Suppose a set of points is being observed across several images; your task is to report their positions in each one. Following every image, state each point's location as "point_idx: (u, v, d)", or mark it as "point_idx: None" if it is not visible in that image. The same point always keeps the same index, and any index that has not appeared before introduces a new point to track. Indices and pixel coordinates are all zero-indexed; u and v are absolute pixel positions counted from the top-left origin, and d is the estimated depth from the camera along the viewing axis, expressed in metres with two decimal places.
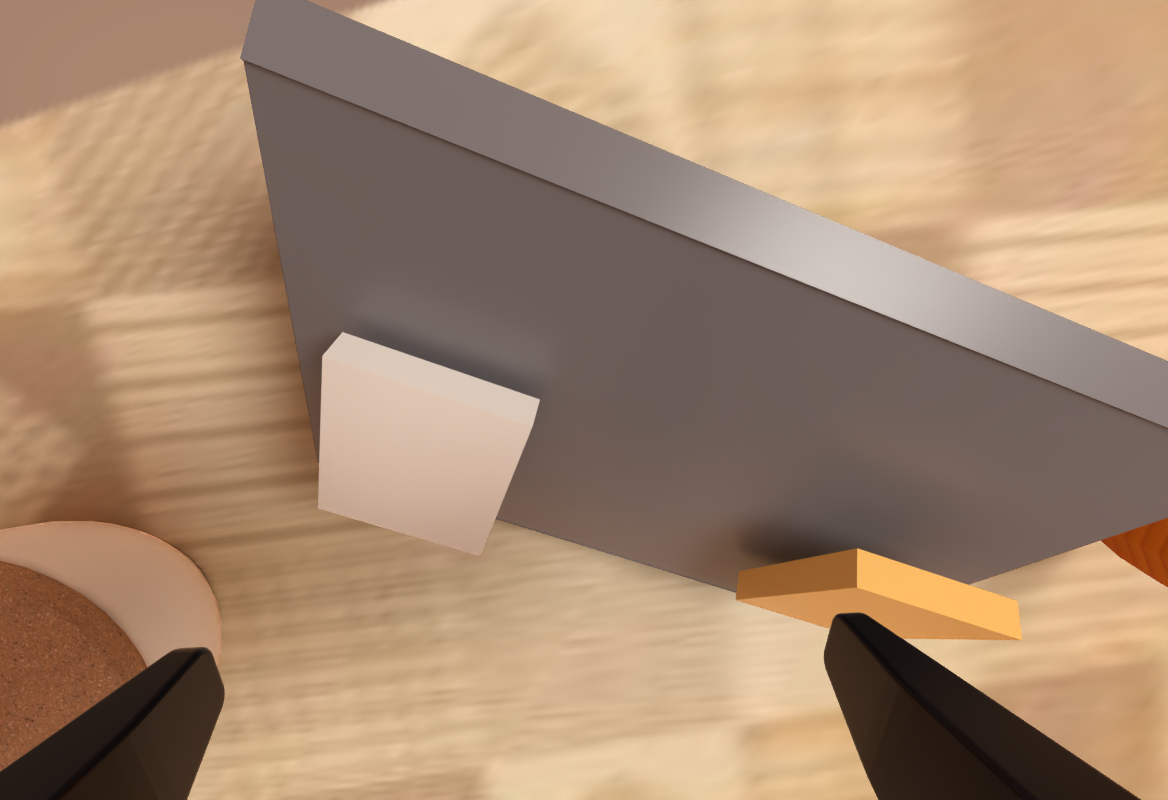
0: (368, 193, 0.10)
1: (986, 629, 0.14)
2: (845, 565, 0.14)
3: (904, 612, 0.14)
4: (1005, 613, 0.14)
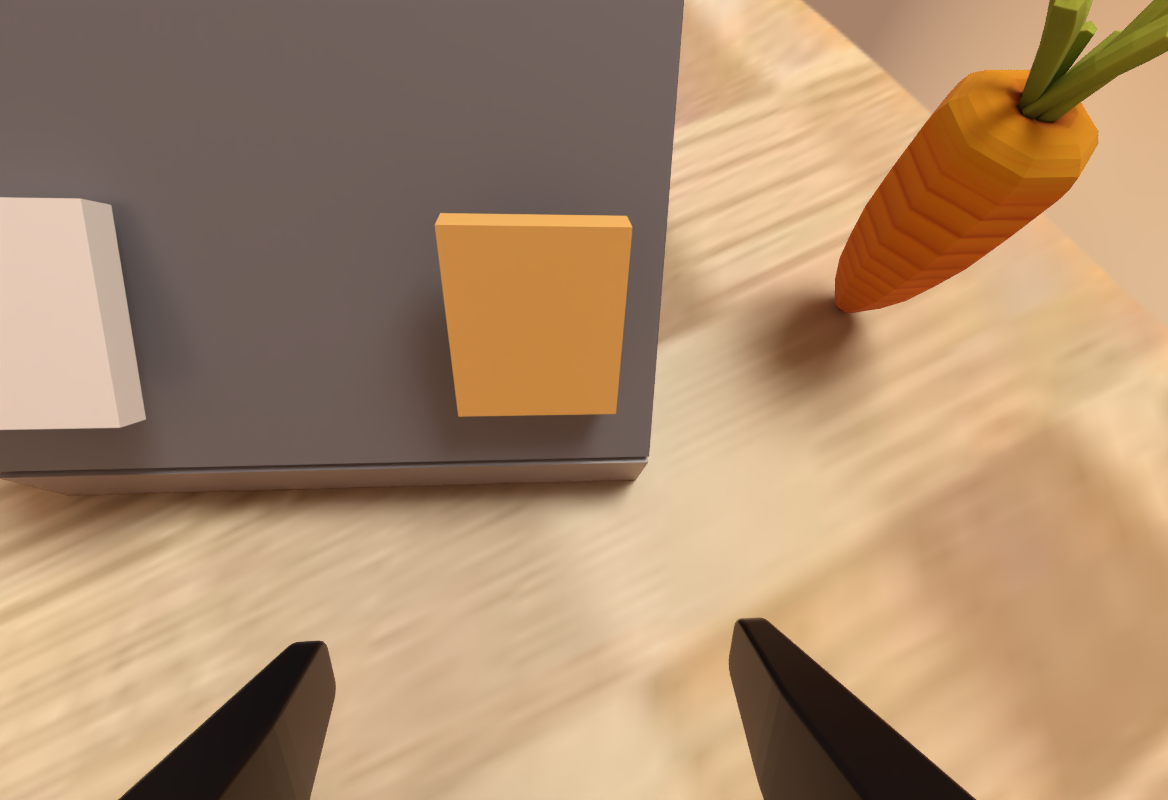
0: None
1: (592, 229, 0.14)
2: None
3: (522, 258, 0.14)
4: (612, 220, 0.14)
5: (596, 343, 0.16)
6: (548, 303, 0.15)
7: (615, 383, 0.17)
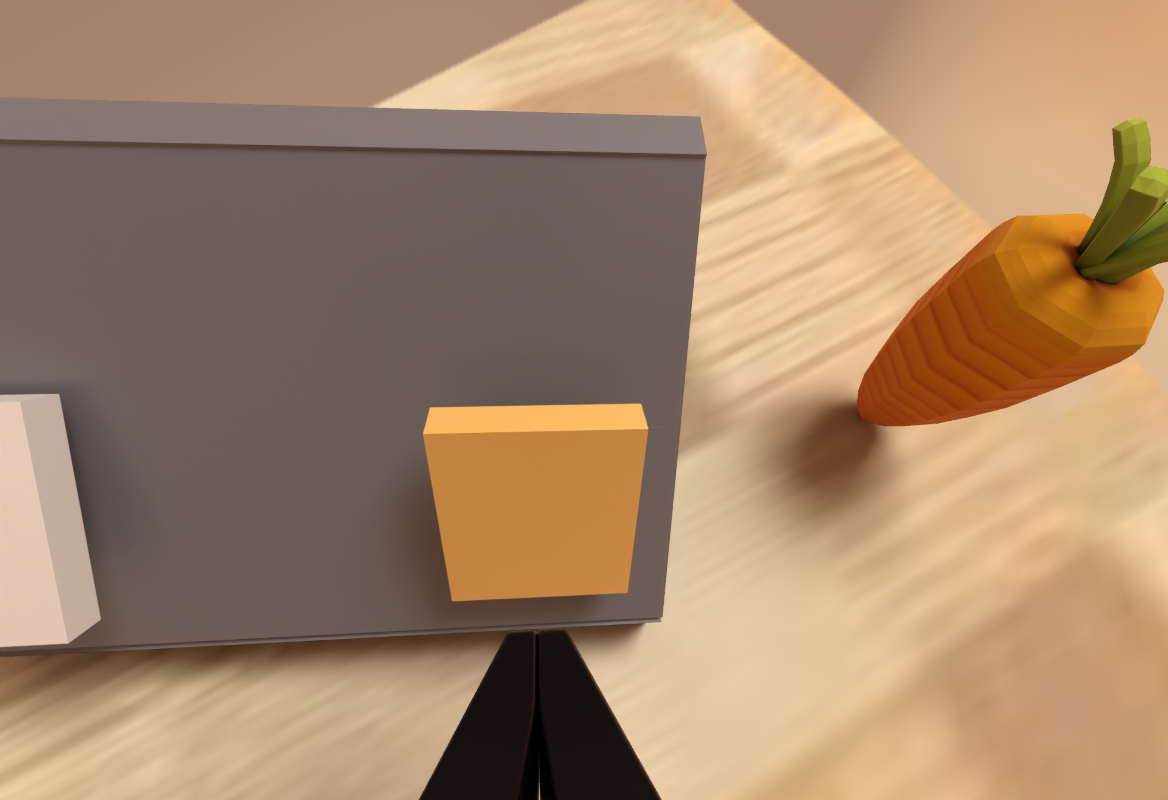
0: None
1: (602, 432, 0.12)
2: None
3: (523, 461, 0.12)
4: (625, 414, 0.13)
5: (606, 532, 0.14)
6: (552, 499, 0.13)
7: (627, 566, 0.15)
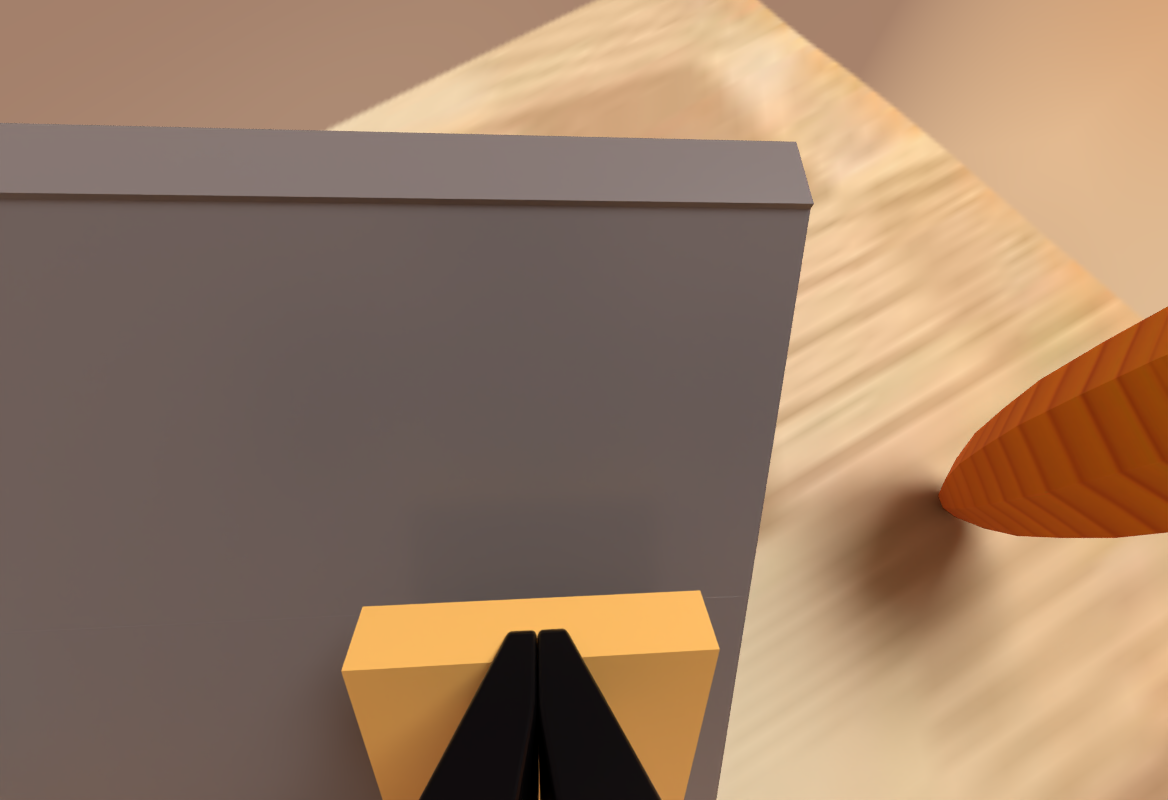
0: None
1: (643, 656, 0.07)
2: None
3: None
4: (677, 616, 0.08)
5: None
6: None
7: None
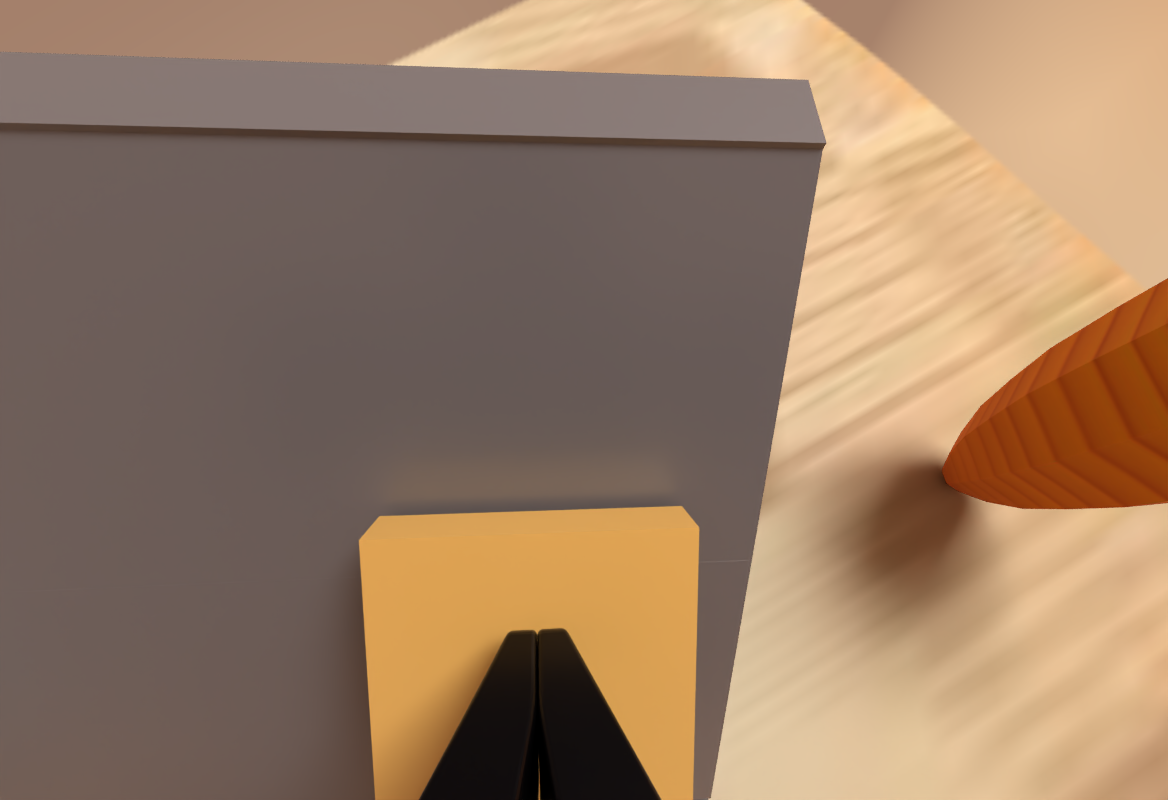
0: None
1: (631, 534, 0.08)
2: None
3: (512, 589, 0.08)
4: (661, 515, 0.09)
5: (647, 735, 0.09)
6: None
7: None
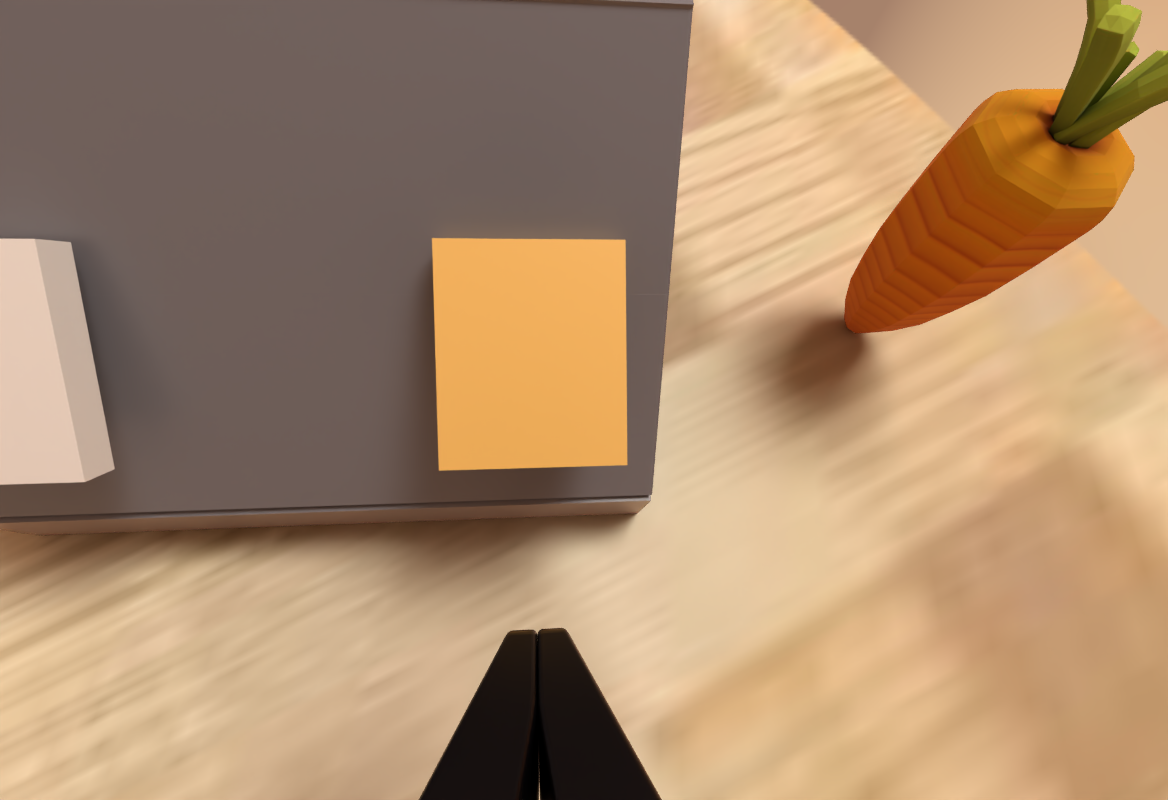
0: None
1: (586, 241, 0.14)
2: None
3: (518, 271, 0.14)
4: None
5: (598, 369, 0.14)
6: (544, 321, 0.14)
7: (623, 422, 0.14)
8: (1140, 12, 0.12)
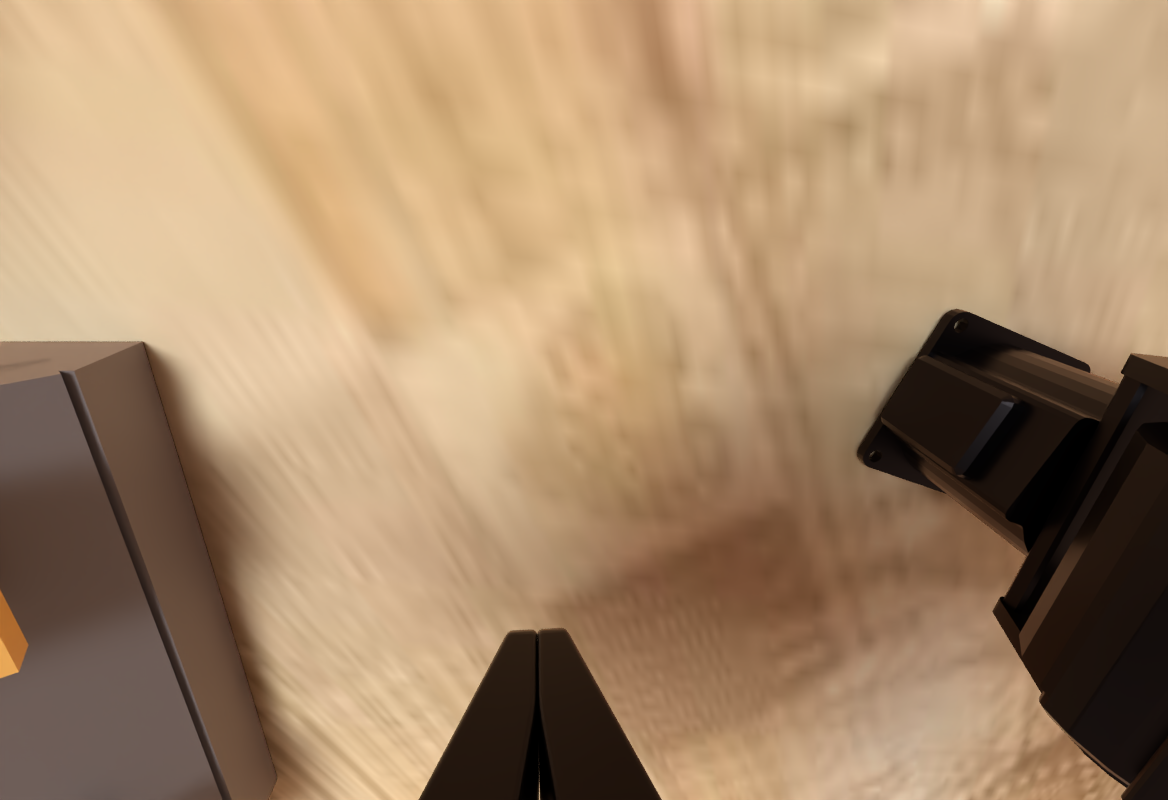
0: None
1: None
2: None
3: None
4: None
5: None
6: None
7: None
8: None
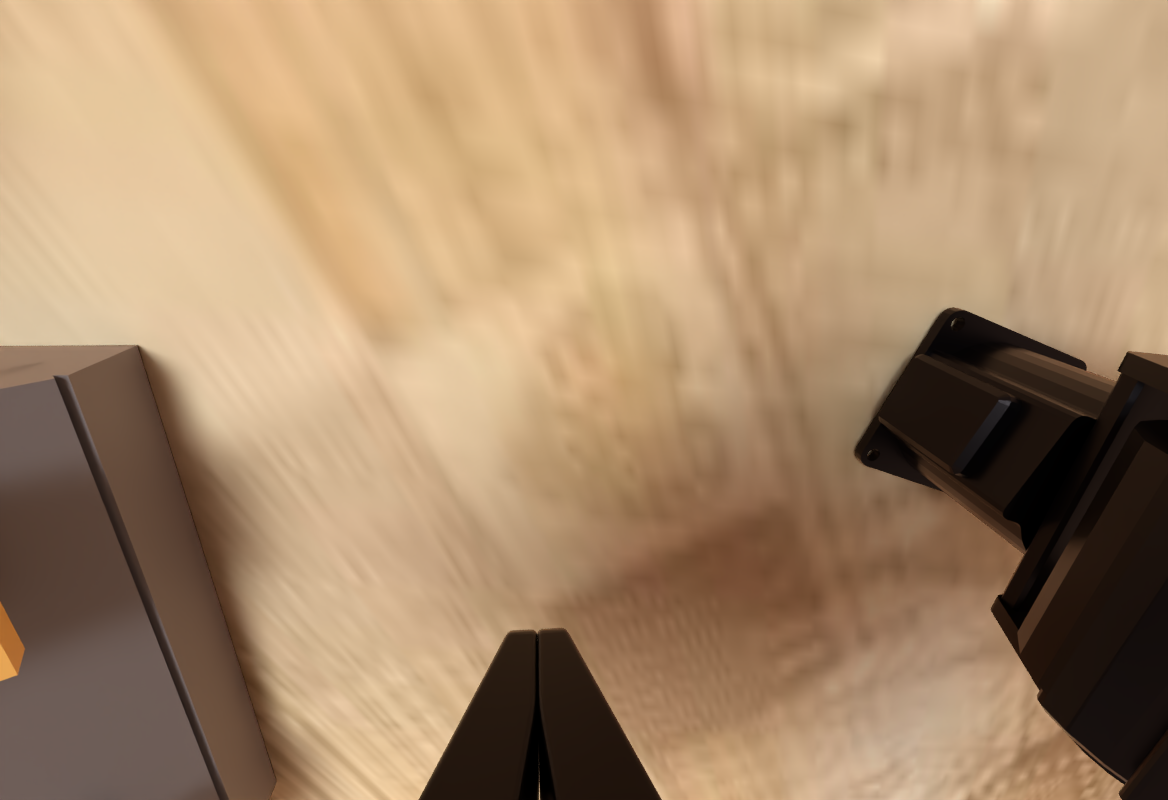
0: None
1: None
2: None
3: None
4: None
5: None
6: None
7: None
8: None
